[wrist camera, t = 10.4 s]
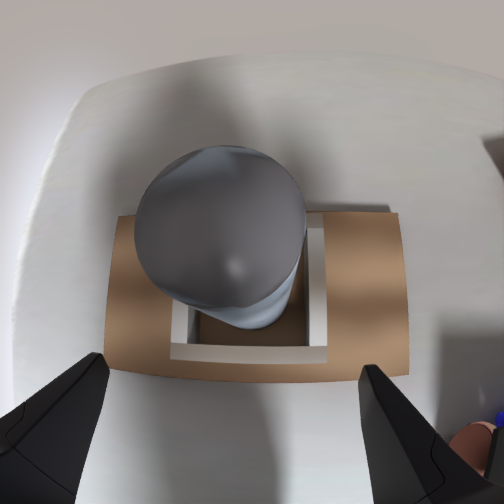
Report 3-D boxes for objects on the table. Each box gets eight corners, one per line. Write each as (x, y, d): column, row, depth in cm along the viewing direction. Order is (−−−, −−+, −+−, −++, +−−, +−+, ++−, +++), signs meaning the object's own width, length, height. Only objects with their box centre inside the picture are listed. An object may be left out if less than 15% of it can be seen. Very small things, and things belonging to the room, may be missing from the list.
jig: (403, 373, 19) (427, 377, 15) (109, 366, 21) (81, 368, 17) (393, 218, 22) (411, 195, 19) (123, 221, 24) (100, 200, 20)
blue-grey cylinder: (230, 340, 20) (157, 333, 7) (208, 274, 21) (122, 181, 9) (298, 315, 20) (335, 267, 8) (273, 250, 21) (267, 126, 9)
